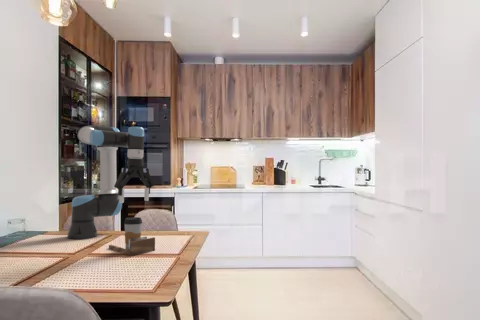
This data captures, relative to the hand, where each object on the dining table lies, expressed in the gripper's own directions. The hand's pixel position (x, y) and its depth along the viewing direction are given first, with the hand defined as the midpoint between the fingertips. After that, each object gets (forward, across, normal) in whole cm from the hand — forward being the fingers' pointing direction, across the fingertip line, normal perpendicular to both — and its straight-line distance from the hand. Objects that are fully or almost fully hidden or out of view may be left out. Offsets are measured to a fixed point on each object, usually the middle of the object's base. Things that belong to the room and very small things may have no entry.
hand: (134, 201), depth 157 cm
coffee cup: (+23, -2, -2) cm, 23 cm away
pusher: (+22, -2, -8) cm, 24 cm away
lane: (+23, -2, -1) cm, 23 cm away
